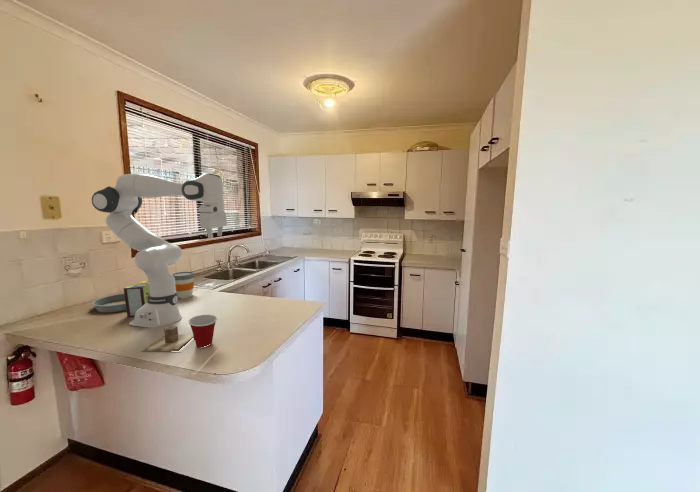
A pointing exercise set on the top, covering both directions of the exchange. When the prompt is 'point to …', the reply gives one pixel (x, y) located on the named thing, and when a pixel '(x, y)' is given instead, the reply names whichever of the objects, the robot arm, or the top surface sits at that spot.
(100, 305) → the cake pan
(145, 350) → the mat
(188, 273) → the reusable coffee cup
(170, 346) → the lid
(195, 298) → the top surface
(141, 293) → the protein box
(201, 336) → the plastic cup
